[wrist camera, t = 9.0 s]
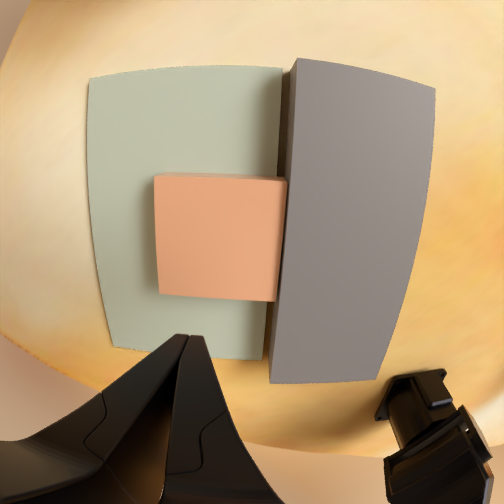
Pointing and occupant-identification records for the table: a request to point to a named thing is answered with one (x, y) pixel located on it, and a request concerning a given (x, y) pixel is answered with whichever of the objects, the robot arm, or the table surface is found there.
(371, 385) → the table surface
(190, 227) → the coaster
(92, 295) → the table surface
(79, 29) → the table surface
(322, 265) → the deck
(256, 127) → the mat
